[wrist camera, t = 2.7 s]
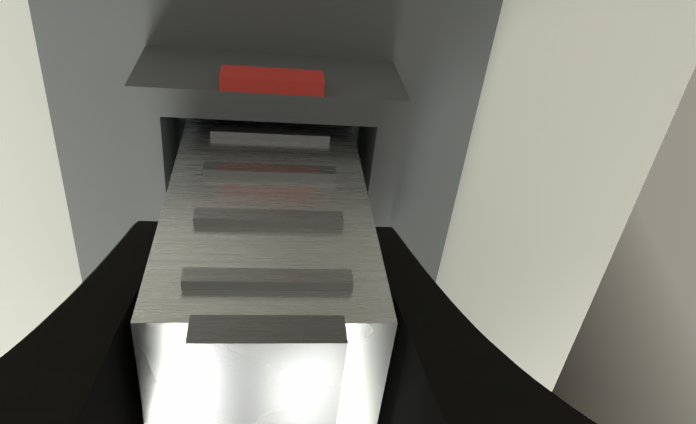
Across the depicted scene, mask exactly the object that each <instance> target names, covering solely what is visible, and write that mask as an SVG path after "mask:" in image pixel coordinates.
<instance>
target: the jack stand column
mask: <svg viewBox="0 0 696 424" xmlns="http://www.w3.org/2000/svg"><path fill="white" fill-rule="evenodd" d="M352 127H353V126H343V125H322V124H301V123H280V122H259V121H238V120H217V119H196V118H186V124H185V127H184V131H183V135H182V138H181V142H180V146H179V149H178V153H177V156H176V160H175V164H174V167H173V171H172V174H171V178H170V182H169V185H168V189H167V192H166V196H165V200H164V203H163V207H162V211H161V214H160V218H159V221H158V225H157V229H156V232H155V236H154V239H153V243H152V247H151V250H150V254H149V258H148V261H147V265H146V268H145V272H144V276H143V279H142V283H141V286H140V290H139V294H138V297H137V301H136V305H135V308H134V312H133V315H132V319H131V323H130V324H131V331H132V338H133V345H134V352H135V359H136V366H137V373H138V380H139V387H140V394H141V402H142V409H143V416H144V423H145V424H377V422H378V418H379V413H380V408H381V403H382V398H383V393H384V388H385V383H386V378H387V373H388V368H389V364H390V359H391V354H392V349H393V344H394V339H395V334H396V329H397V324H398V323H397V318H396V314H395V310H394V305H393V301H392V297H391V293H390V288H389V284H388V280H387V275H386V271H385V267H384V262H383V258H382V254H381V249H380V245H379V241H378V236H377V232H376V228H375V223H374V219H373V215H372V210H371V206H370V202H369V197H368V193H367V189H366V184H365V180H364V176H363V171H362V167H361V163H360V159H359V154H358V150H357V146H356V141H355V137H354V133H353V128H352Z"/></svg>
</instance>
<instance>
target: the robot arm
mask: <svg viewBox="0 0 696 424" xmlns="http://www.w3.org/2000/svg"><path fill="white" fill-rule="evenodd" d="M157 225H158V221H138V222H136V223H135V224H134V225H133V226H132V227H131V228H130V229H129V231H128V232H127V233H126V234H125V235H124V237H123V238H122V239H121V240H120V241H119V242H118V244H117V245H116V246H115V247H114V248H113V249H112V251H111V252H110V253H109V254H108V255H107V256H106V257H105V258H104V260H103V261H102V262H101V263H100V264H99V265H98V266H97V267H96V268H95V270H94V271H93V272H92V273H91V274H90V275H89V276H88V277H87V278H86V279H85V280H84V281H83V282H82V283H81V284H80V285H79V286H78V288H77V289H76V290H75V291H74V292H73V293H72V294H71V295H70V296H69V297H68V298H67V299H66V300H65V301H64V302H62V303H61V304H60V305H59V306H58V307H57V308H56V309H55V310H54V311H53V312H52V313H51V314H50V315H49V316H48V317H47V318H46V319H45V320H43V321H42V322H41V323H40V324H39V325H38V326H37V327H36V328H35V329H34V330H33V331H31V332H30V333H29V334H28V335H27V336H26V337H25V338H23V339H22V340H21V341H20V342H19V343H18V344H16V345H15V346H14V347H13V348H12V349H10V350H9V351H8V352H7V353H5V354H4V355H3V356H2V357H0V424H145V423H144V416H143V409H142V402H141V394H140V387H139V380H138V373H137V366H136V359H135V352H134V345H133V338H132V331H131V324H130V323H131V319H132V315H133V312H134V308H135V305H136V301H137V297H138V294H139V290H140V286H141V283H142V279H143V276H144V272H145V268H146V265H147V261H148V258H149V254H150V250H151V247H152V243H153V239H154V236H155V232H156V229H157ZM375 228H376V232H377V236H378V241H379V245H380V249H381V254H382V258H383V262H384V267H385V271H386V275H387V280H388V284H389V288H390V293H391V297H392V301H393V305H394V310H395V314H396V318H397V323H398V324H397V329H396V334H395V339H394V344H393V349H392V354H391V359H390V364H389V368H388V373H387V378H386V383H385V388H384V393H383V398H382V403H381V408H380V413H379V418H378V422H377V424H597V423H595V422H593V421H592V420H590V419H589V418H587V417H586V416H584V415H583V414H582V413H580V412H579V411H577V410H575V409H574V408H573V407H571V406H570V405H568V404H567V403H566V402H564V401H563V400H562V399H560V398H559V397H558V396H556V395H555V394H554V393H552V392H551V391H550V390H548V389H547V388H546V387H544V386H543V385H542V384H540V383H539V382H538V381H536V380H535V379H534V378H532V377H531V376H530V375H529V374H528V373H526V372H525V371H524V370H523V369H521V368H520V367H519V366H518V365H517V364H515V363H514V362H513V361H512V360H511V359H510V358H509V357H507V356H506V355H505V354H504V353H503V352H502V351H501V350H500V349H498V348H497V347H496V346H495V345H494V344H493V343H492V342H491V341H490V340H488V339H487V338H486V337H485V336H484V335H483V334H482V333H481V332H480V331H479V330H478V329H477V328H476V327H475V326H474V325H473V324H472V323H471V322H470V321H469V320H468V319H467V317H466V316H465V315H464V314H463V313H462V312H461V311H460V310H459V309H458V308H457V307H456V306H455V304H454V303H453V302H452V301H451V300H450V299H449V298H448V296H447V295H446V294H445V293H444V292H443V291H442V289H441V288H440V287H439V286H438V285H437V284H436V282H435V281H434V280H433V279H432V278H431V276H430V275H429V274H428V273H427V271H426V270H425V269H424V268H423V266H422V265H421V264H420V262H419V261H418V260H417V259H416V257H415V256H414V255H413V253H412V252H411V251H410V249H409V248H408V247H407V245H406V244H405V243H404V241H403V240H402V239H401V237H400V236H399V235H398V233H397V232H396V231H395V230H394V229H393V228H392V227H375Z"/></svg>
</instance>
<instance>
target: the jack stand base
mask: <svg viewBox="0 0 696 424" xmlns="http://www.w3.org/2000/svg"><path fill="white" fill-rule="evenodd" d="M695 67H696V0H0V357H2V356H3V355H4V354H5V353H7V352H8V351H9V350H10V349H12V348H13V347H14V346H15V345H16V344H18V343H19V342H20V341H21V340H22V339H23V338H25V337H26V336H27V335H28V334H29V333H30V332H31V331H33V330H34V329H35V328H36V327H37V326H38V325H39V324H40V323H41V322H42V321H43V320H45V319H46V318H47V317H48V316H49V315H50V314H51V313H52V312H53V311H54V310H55V309H56V308H57V307H58V306H59V305H60V304H61V303H62V302H64V301H65V300H66V299H67V298H68V297H69V296H70V295H71V294H72V293H73V292H74V291H75V290H76V289H77V288H78V286H79V285H80V284H81V283H82V282H83V281H84V280H85V279H86V278H87V277H88V276H89V275H90V274H91V273H92V272H93V271H94V270H95V268H96V267H97V266H98V265H99V264H100V263H101V262H102V261H103V260H104V258H105V257H106V256H107V255H108V254H109V253H110V252H111V251H112V249H113V248H114V247H115V246H116V245H117V244H118V242H119V241H120V240H121V239H122V238H123V237H124V235H125V234H126V233H127V232H128V231H129V229H130V228H131V227H132V226H133V225H134V224H135V223H136V222H138V221H159V218H160V214H161V211H162V207H163V203H164V200H165V196H166V192H167V189H168V185H169V182H170V178H171V174H172V171H173V167H174V164H175V160H176V156H177V153H178V149H179V146H180V142H181V138H182V135H183V131H184V127H185V124H186V118H196V119H217V120H238V121H259V122H280V123H301V124H322V125H343V126H353V127H352V128H353V133H354V137H355V141H356V146H357V150H358V154H359V159H360V163H361V167H362V171H363V176H364V180H365V184H366V189H367V193H368V197H369V202H370V206H371V210H372V215H373V219H374V223H375V227H392V228H393V229H394V230H395V231H396V232H397V233H398V235H399V236H400V237H401V239H402V240H403V241H404V243H405V244H406V245H407V247H408V248H409V249H410V251H411V252H412V253H413V255H414V256H415V257H416V259H417V260H418V261H419V262H420V264H421V265H422V266H423V268H424V269H425V270H426V271H427V273H428V274H429V275H430V276H431V278H432V279H433V280H434V281H435V282H436V284H437V285H438V286H439V287H440V288H441V289H442V291H443V292H444V293H445V294H446V295H447V296H448V298H449V299H450V300H451V301H452V302H453V303H454V304H455V306H456V307H457V308H458V309H459V310H460V311H461V312H462V313H463V314H464V315H465V316H466V317H467V319H468V320H469V321H470V322H471V323H472V324H473V325H474V326H475V327H476V328H477V329H478V330H479V331H480V332H481V333H482V334H483V335H484V336H485V337H486V338H487V339H488V340H490V341H491V342H492V343H493V344H494V345H495V346H496V347H497V348H498V349H500V350H501V351H502V352H503V353H504V354H505V355H506V356H507V357H509V358H510V359H511V360H512V361H513V362H514V363H515V364H517V365H518V366H519V367H520V368H521V369H523V370H524V371H525V372H526V373H528V374H529V375H530V376H531V377H532V378H534V379H535V380H536V381H538V382H539V383H540V384H542V385H543V386H544V387H546V388H547V389H548V390H550V391H551V392H552V390H553V388H554V386H555V383H556V381H557V379H558V377H559V374H560V372H561V370H562V368H563V365H564V363H565V360H566V359H567V356H568V354H569V352H570V350H571V347H572V345H573V343H574V341H575V338H576V336H577V333H578V331H579V329H580V327H581V324H582V322H583V320H584V318H585V316H586V313H587V311H588V309H589V306H590V304H591V302H592V300H593V297H594V295H595V293H596V291H597V288H598V286H599V284H600V282H601V279H602V277H603V275H604V272H605V270H606V268H607V266H608V263H609V261H610V259H611V257H612V254H613V252H614V250H615V248H616V245H617V243H618V241H619V239H620V236H621V234H622V232H623V230H624V227H625V225H626V223H627V220H628V218H629V216H630V214H631V211H632V209H633V207H634V205H635V202H636V200H637V198H638V195H639V193H640V191H641V189H642V187H643V184H644V182H645V179H646V177H647V175H648V173H649V170H650V168H651V166H652V164H653V162H654V159H655V157H656V155H657V153H658V150H659V148H660V146H661V143H662V141H663V139H664V137H665V134H666V132H667V130H668V127H669V125H670V123H671V121H672V119H673V116H674V114H675V112H676V110H677V107H678V105H679V103H680V100H681V98H682V96H683V94H684V91H685V89H686V87H687V85H688V82H689V80H690V78H691V76H692V73H693V71H694V69H695Z"/></svg>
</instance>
